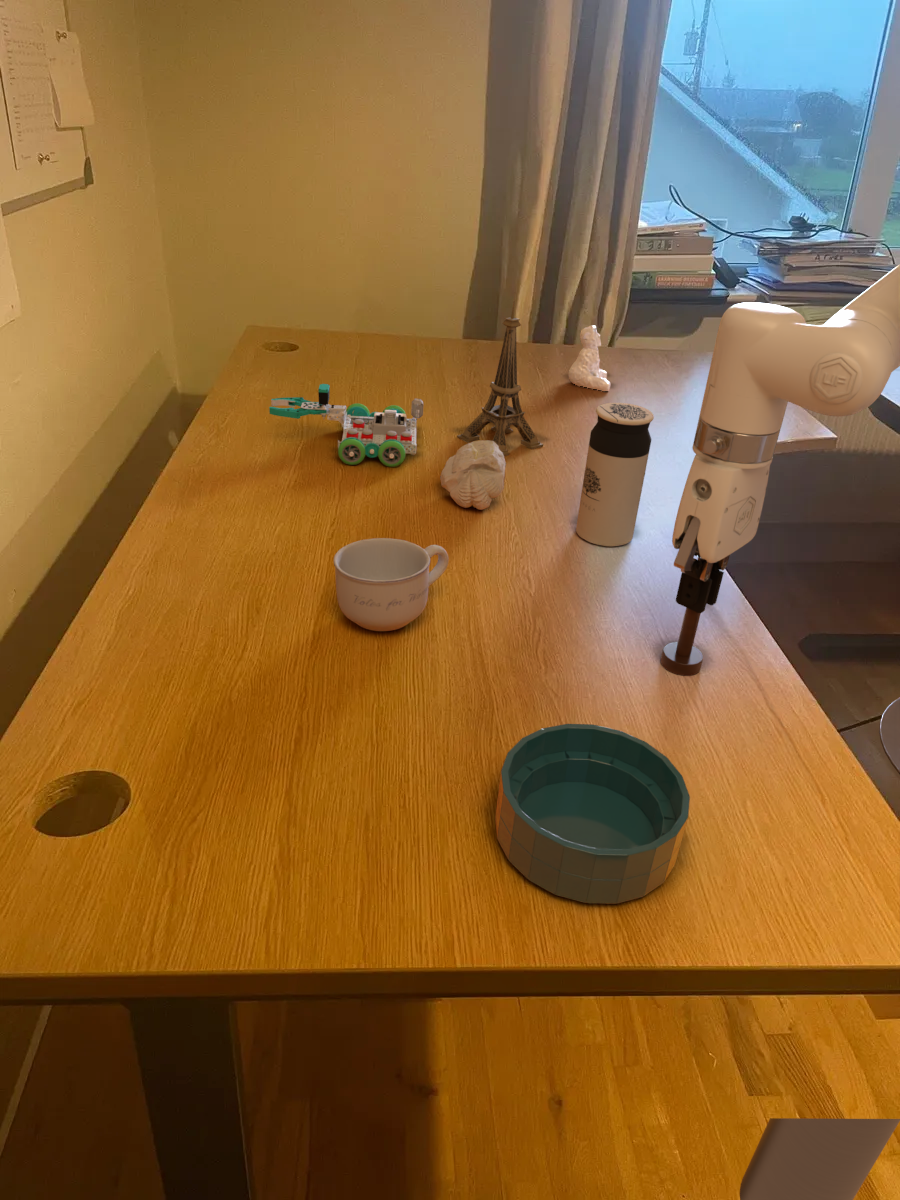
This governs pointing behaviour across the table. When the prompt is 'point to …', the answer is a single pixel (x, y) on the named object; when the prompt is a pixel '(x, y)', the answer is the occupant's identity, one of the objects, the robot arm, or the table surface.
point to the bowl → (591, 813)
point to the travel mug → (614, 474)
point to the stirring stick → (684, 647)
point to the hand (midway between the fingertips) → (695, 602)
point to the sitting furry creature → (589, 362)
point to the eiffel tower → (504, 398)
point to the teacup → (385, 581)
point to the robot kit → (361, 427)
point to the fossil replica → (475, 474)
